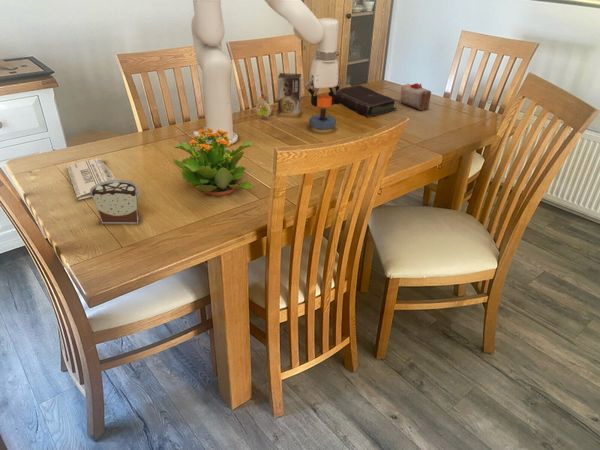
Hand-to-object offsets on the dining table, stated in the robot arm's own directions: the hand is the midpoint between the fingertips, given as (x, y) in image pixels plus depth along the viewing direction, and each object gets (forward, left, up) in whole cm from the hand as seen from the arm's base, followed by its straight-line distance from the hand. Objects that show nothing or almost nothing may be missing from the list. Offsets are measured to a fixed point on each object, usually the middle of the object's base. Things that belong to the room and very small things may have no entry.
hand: (322, 104), depth 178 cm
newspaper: (-85, -12, -10) cm, 86 cm away
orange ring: (0, 0, 0) cm, 0 cm away
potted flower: (-52, -33, -10) cm, 62 cm away
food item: (+52, +10, -10) cm, 54 cm away
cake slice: (-80, -38, -10) cm, 89 cm away
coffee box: (-5, +20, -10) cm, 23 cm away
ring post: (0, 0, -10) cm, 10 cm away
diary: (+30, +18, -10) cm, 37 cm away
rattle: (-15, +20, -10) cm, 27 cm away
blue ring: (0, 0, -8) cm, 8 cm away
